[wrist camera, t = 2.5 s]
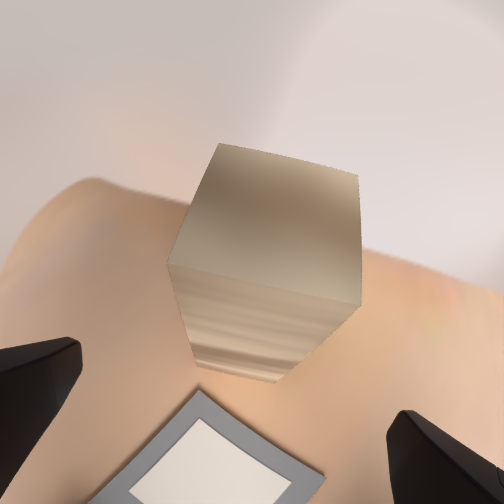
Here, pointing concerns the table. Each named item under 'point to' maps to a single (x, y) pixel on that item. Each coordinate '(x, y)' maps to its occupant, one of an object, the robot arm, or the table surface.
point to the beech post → (266, 261)
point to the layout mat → (210, 465)
